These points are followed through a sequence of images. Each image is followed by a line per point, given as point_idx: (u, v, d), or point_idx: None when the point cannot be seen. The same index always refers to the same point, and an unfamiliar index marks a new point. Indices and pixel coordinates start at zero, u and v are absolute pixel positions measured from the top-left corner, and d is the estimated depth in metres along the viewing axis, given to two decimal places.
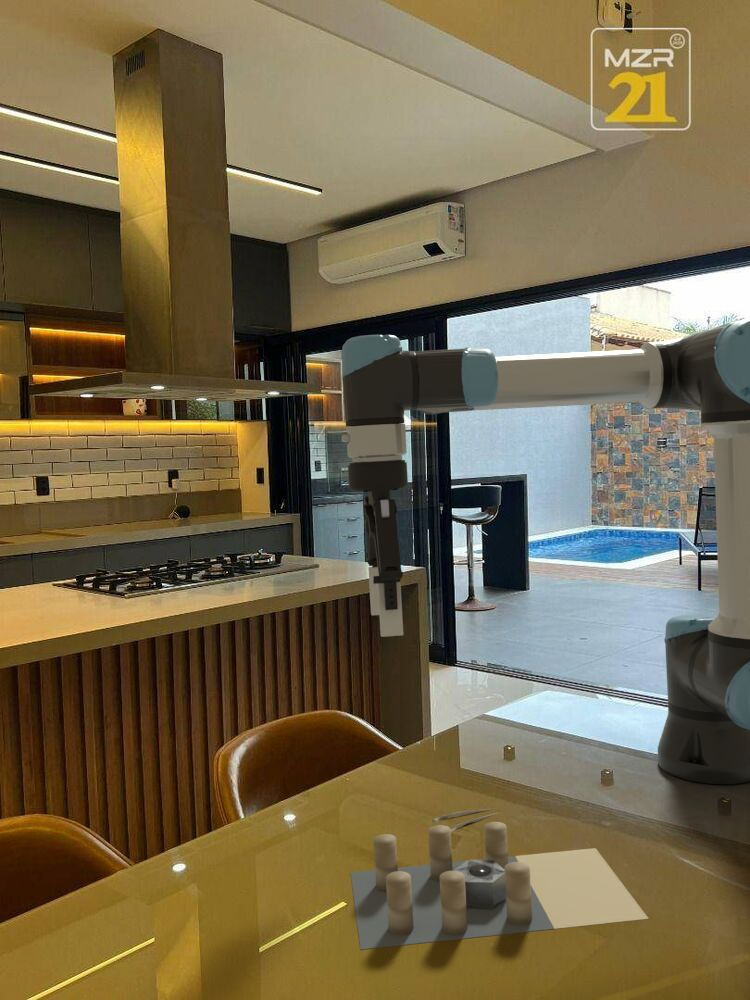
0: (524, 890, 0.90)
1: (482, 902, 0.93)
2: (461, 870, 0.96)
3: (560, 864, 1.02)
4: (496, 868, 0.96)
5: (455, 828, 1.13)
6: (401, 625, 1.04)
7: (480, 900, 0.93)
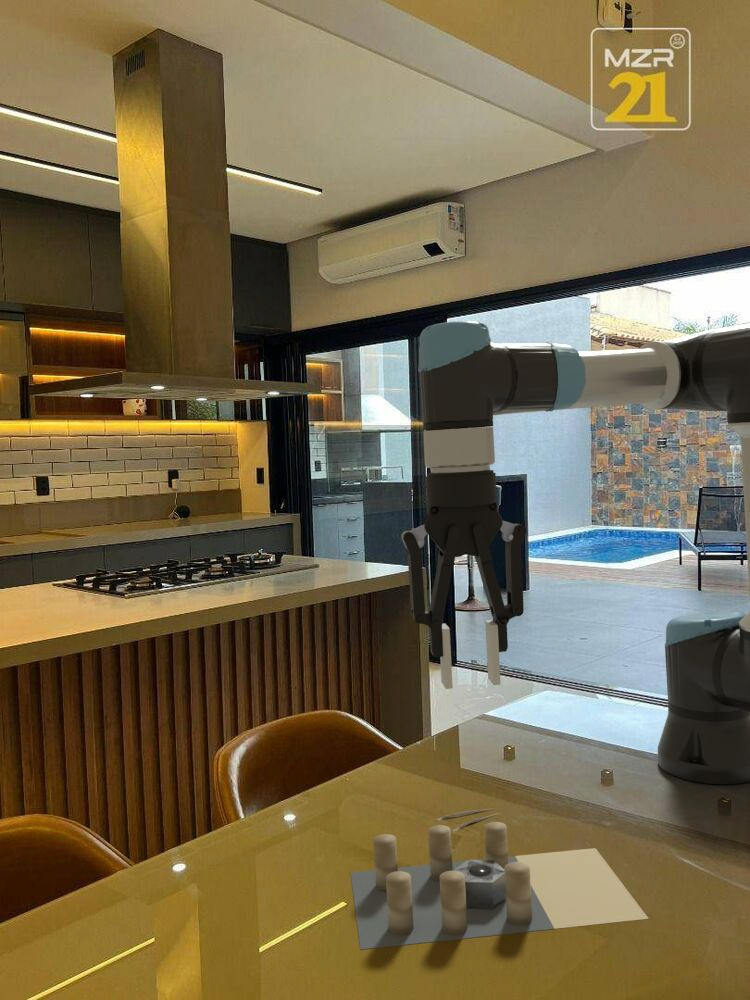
0: (524, 890, 0.90)
1: (482, 902, 0.93)
2: (461, 870, 0.96)
3: (560, 864, 1.02)
4: (496, 868, 0.96)
5: (458, 828, 1.13)
6: (445, 677, 0.93)
7: (480, 900, 0.93)
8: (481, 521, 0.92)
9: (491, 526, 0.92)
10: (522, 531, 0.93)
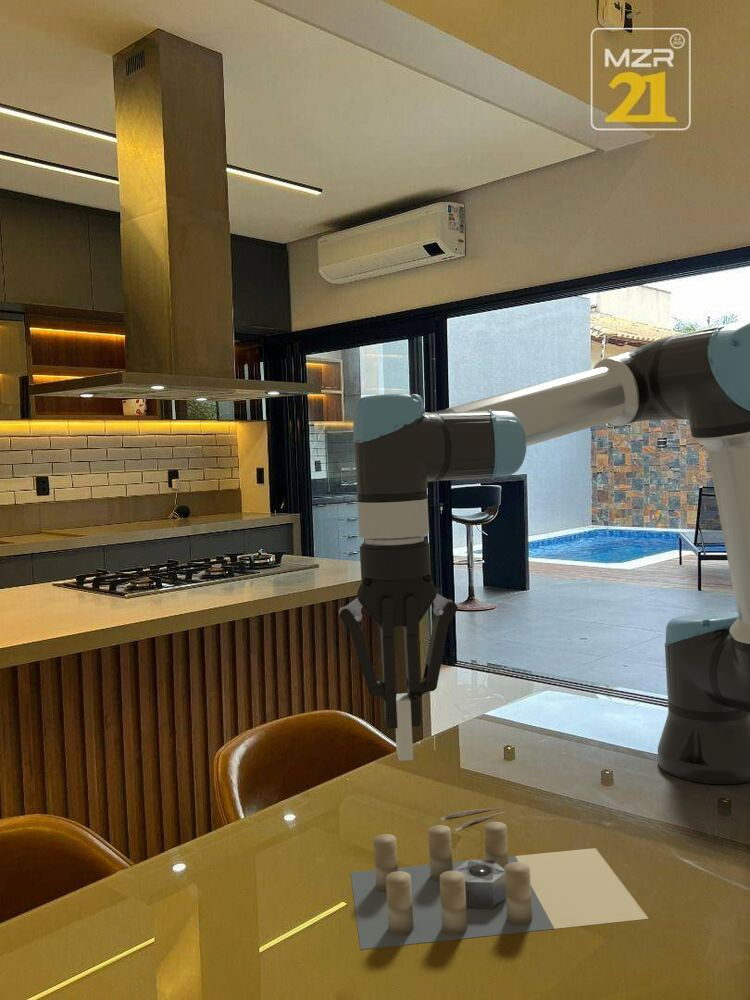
0: (524, 890, 0.90)
1: (482, 902, 0.93)
2: (461, 870, 0.96)
3: (560, 864, 1.02)
4: (496, 868, 0.96)
5: (461, 827, 1.13)
6: (399, 749, 0.93)
7: (480, 900, 0.93)
8: (415, 590, 0.92)
9: (424, 597, 0.92)
10: (453, 609, 0.92)
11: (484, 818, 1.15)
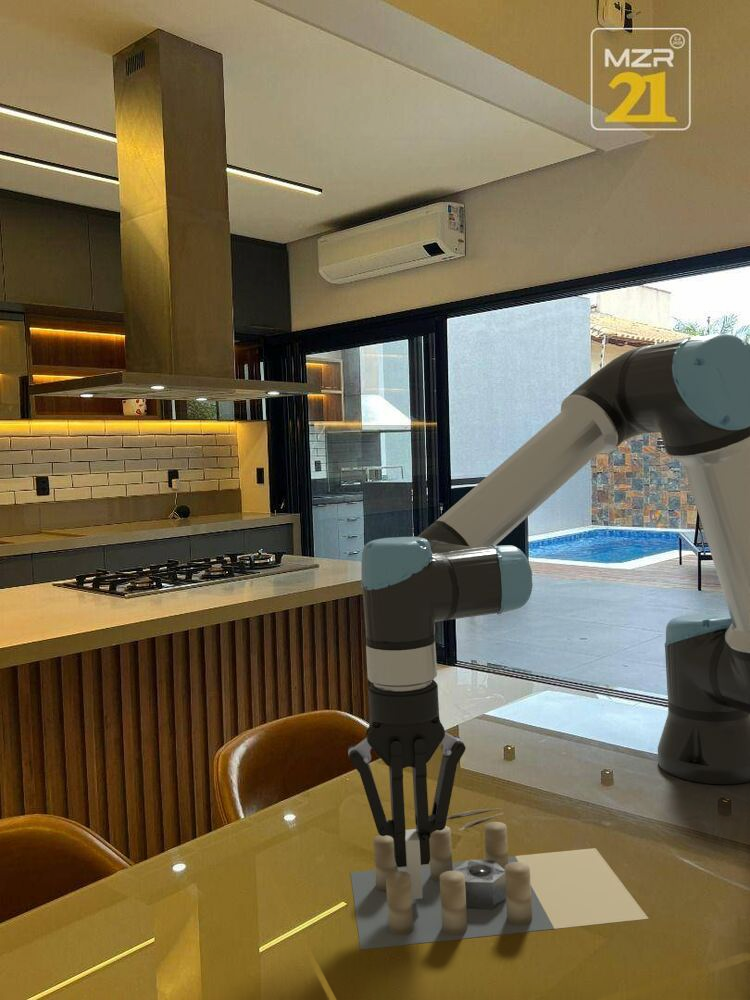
0: (524, 890, 0.90)
1: (482, 902, 0.93)
2: (461, 870, 0.96)
3: (560, 864, 1.02)
4: (496, 868, 0.96)
5: (464, 827, 1.13)
6: None
7: (480, 900, 0.93)
8: (423, 731, 0.93)
9: (432, 738, 0.93)
10: (461, 749, 0.93)
11: (487, 818, 1.15)
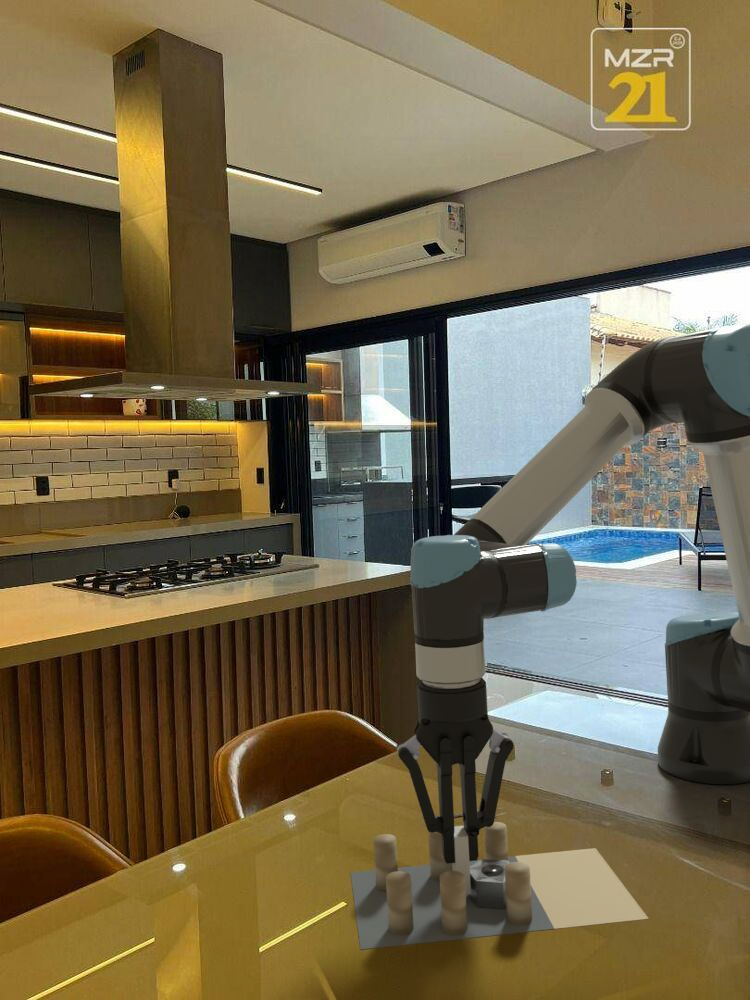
0: (524, 890, 0.90)
1: (493, 902, 0.93)
2: (473, 869, 0.96)
3: (560, 864, 1.02)
4: None
5: None
6: None
7: (491, 900, 0.93)
8: (472, 728, 0.94)
9: (481, 735, 0.94)
10: (509, 746, 0.94)
11: None
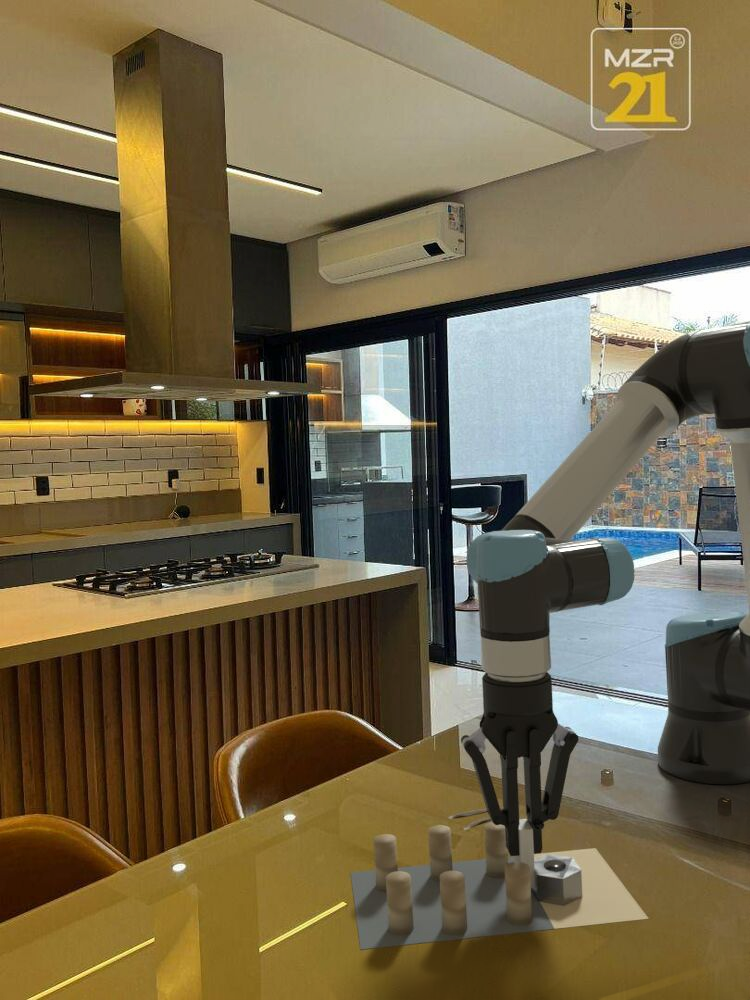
0: (524, 890, 0.90)
1: (553, 897, 0.94)
2: (536, 863, 0.97)
3: None
4: (571, 866, 0.95)
5: (469, 826, 1.13)
6: None
7: (551, 895, 0.94)
8: (538, 722, 0.94)
9: (546, 728, 0.94)
10: (574, 740, 0.95)
11: None
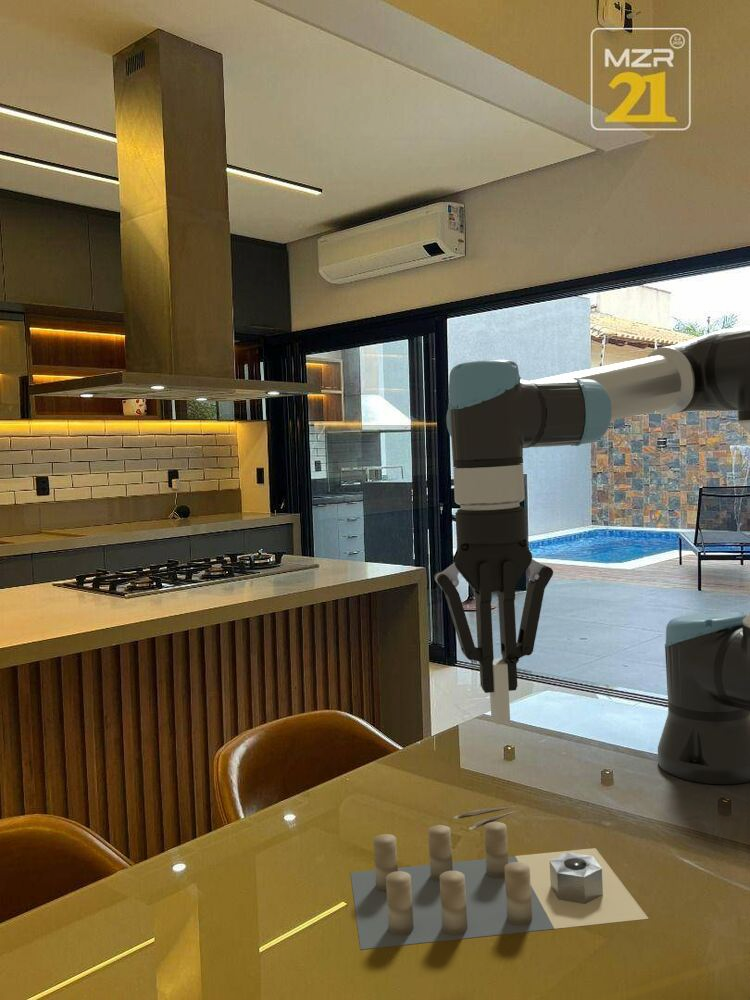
0: (524, 890, 0.90)
1: (574, 895, 0.94)
2: (556, 861, 0.97)
3: None
4: (592, 864, 0.96)
5: (475, 826, 1.13)
6: (496, 713, 0.94)
7: (571, 893, 0.94)
8: (511, 555, 0.93)
9: (520, 562, 0.93)
10: (549, 573, 0.93)
11: (498, 817, 1.16)
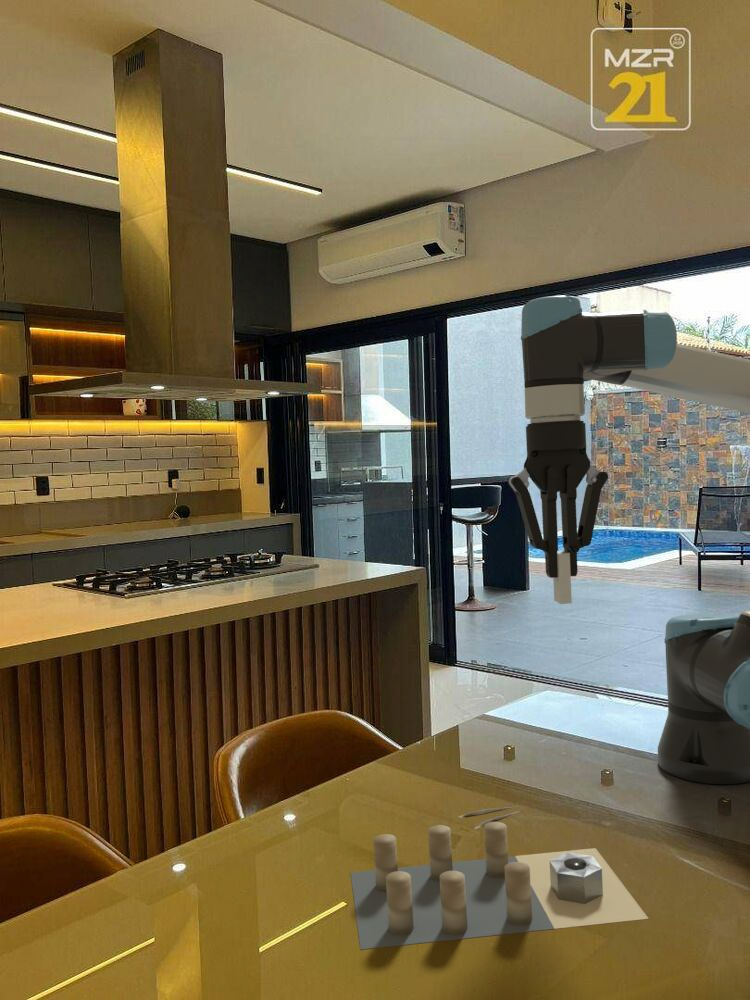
0: (524, 890, 0.90)
1: (574, 895, 0.94)
2: (556, 861, 0.97)
3: None
4: (592, 864, 0.96)
5: (480, 826, 1.13)
6: (559, 594, 1.12)
7: (571, 893, 0.94)
8: (573, 461, 1.11)
9: (580, 467, 1.11)
10: (604, 477, 1.11)
11: (503, 817, 1.16)
